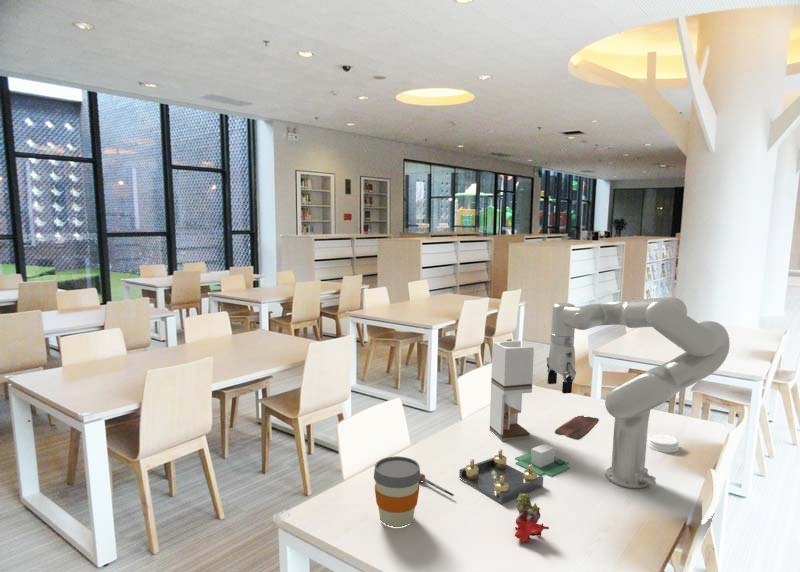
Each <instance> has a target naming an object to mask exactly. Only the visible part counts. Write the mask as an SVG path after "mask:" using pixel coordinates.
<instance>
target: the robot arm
mask: <svg viewBox="0 0 800 572" xmlns="http://www.w3.org/2000/svg"><path fill="white" fill-rule="evenodd" d="M551 312H552V314H551V329H550V333H551V334H550V346H549V352H548V356H547V357H546V367H547V384H548V385H555V384H556V385H557V383H558V381H557V380H558V374H560V375H561V376H562V378H563V381H562V387H561V389H562V390H561V393H562V394H572V391H573V390H572V389H573V382H574V380H575V377H576V375H577V372H576V350H575V346H574V345H575V329H576V330H580V331H585V330H589V329H592V328H595V327H596V328H597V327H598V326H599V327H600V326H601V327H602V326H612V325H613V326H614V325H615V326H616V325H617V326H619V325H620V326H625V327H626V328H629V329H635V328H636V329H638V328H640V329H641V328H653V329H654V330H655V331H656V332H658V333H659V334H661V336H663V337H664V338H666V339H667V340H668V341H670V342H671V343H673V344H674V345H675V346H677V347H678V348H680V350H683V352H684V353H682V354H679V355H678V356H676V357H675V358H673V359H671V360H669V361H666V362H665V363H663V364H661V365H658V366H655V367H652V368H650V369H648V370H647V371H645V372H643V373H641V374H639V375H637V376H635V377H634V378H632V379H630V380H627V381H625V382H623V383H621V384H619V385H618V386H616V387H614V388H613V389H611V390H609V392H608V393H607V394H606V397H605V399H604V400H605V401H604V405H605V406H604V407H605V409H606V411H607V413H609V415H610V416H611V417H613V418H614V425H613V426H614V427H613V437H612V451H611V452H612V454H611V466H610V467H608V468H607V469H606V470H605V476H606V478H607V479H608V481H610V482H612V483H613V484H615V485H617V486H619V487H623V488H629V489H643V488H646V487H647V486H650V487H652V488H653V487H655V486H656V484H657V482H656V480H657V478H656V477H655V476H653V475H650V474H649V473H648V471H649V468H647V467H645V466H646V455H647V454H646V453H647V442H648V432H649V431H648V430H649V420H650V414H651V410H653V409H655V408H657V407H659V406H661V405H663V404H664V403H666V402H668V401H669V400H671V398H673V397H674V396H676V395H677V394H678V393H679V392H681V391H683V390H685V389H687V388H689V387H690V386H692V385H694V384H696V383H698V382H700V381H702V380H704V379H705V378H707V377H709V376H711V375H712V374H714V373H715V372H716V371H717V370H718V369H720V368H721V366H722V365H723V364H724V362H725V361H726V359H727V357H728V354H729V351H730V344H731V343H730V336H729V333H728V331H727V329H726V328H725V326H723V324H721V323H719V322H717V321H712V320H707V321H706V320H705V321H702V322H701V321H700V322H697V320H694V318H691V317H690V316H689V315H688V308H687V305H686V303H685V302H684V301H683V300H682V299H680V298H678V297H674V296H673V297H672V296H665V297H655V298H654V297H653V298H642V299H629V300H623V301H613V302H599V303H591V304H585V305H582V306H575V304H572V303H567V302H557V303H554V305H552V311H551Z"/></svg>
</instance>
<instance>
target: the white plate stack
mask: <svg viewBox="0 0 800 572" xmlns="http://www.w3.org/2000/svg"><path fill="white" fill-rule="evenodd" d="M679 443H680V442H679V440H678V439H677V438H676V437H674V436H672V435H669V434H664V433H658V432H655V433H649V434H648V435H647V443H646V445H647V447H648V448H650V449H651V450H654V451H656V450H657V452H659V451H660V452H661V453H664V452H666V453H665V454H667V453H668V454H672V453H673V454H674V453H676V452H678V451H679Z"/></svg>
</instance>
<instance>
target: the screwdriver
mask: <svg viewBox="0 0 800 572" xmlns="http://www.w3.org/2000/svg"><path fill="white" fill-rule="evenodd" d="M420 477H421V478H420V480H419V482H420V483H421V481H423V483H427V484H429V485H430V486H432V487H434V488H436V489H438V490H440V491H442V492H443V493H446V494H448V495H450V496H451V497H454V496H455V494H454V493H452V492H450V491H449V490H447V489H445V488H443V487H441V486H440V485H438V484H436V483H434V482H433V481H430V480H428V479H427V478H426V475H425V474H424V473H420Z"/></svg>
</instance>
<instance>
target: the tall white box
mask: <svg viewBox="0 0 800 572" xmlns="http://www.w3.org/2000/svg"><path fill="white" fill-rule="evenodd" d="M521 342H522V341H521V340H509V341H508V340H505V341H492V348H491V349H492V350H491V351H492V353H491V354H492V355H491V374H490V375H491V376H490V377H491V379H490V402H489V403H490V406H489V431H490V432H491V433H492V432H493V433H494V434H495V435H496V436H497V437H498V438H497V437H496V436H495V435H494V434H493V433H492V434H493V435H494V436H495V437H496V438H497V439H498V440H499V441H501V442H502V441H503V442H509V441H511V442H512V441H520V440H527V439H530V438H531V434H530V432H529V431H528V430H526V429H525V428H524V427H523V426H521V425H520V424H519V423H518V419H519V417H518V415H519V414H520V413H522V405H523V404H522V402H523V394H530V393H531V394H532V393H533V376H534V375H533V373H534V369H533V368H534V357H535V356H534V354H535V353H534V352H535V351H534V350H535V347H534V346H522V345H521V344H522V343H521Z"/></svg>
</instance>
